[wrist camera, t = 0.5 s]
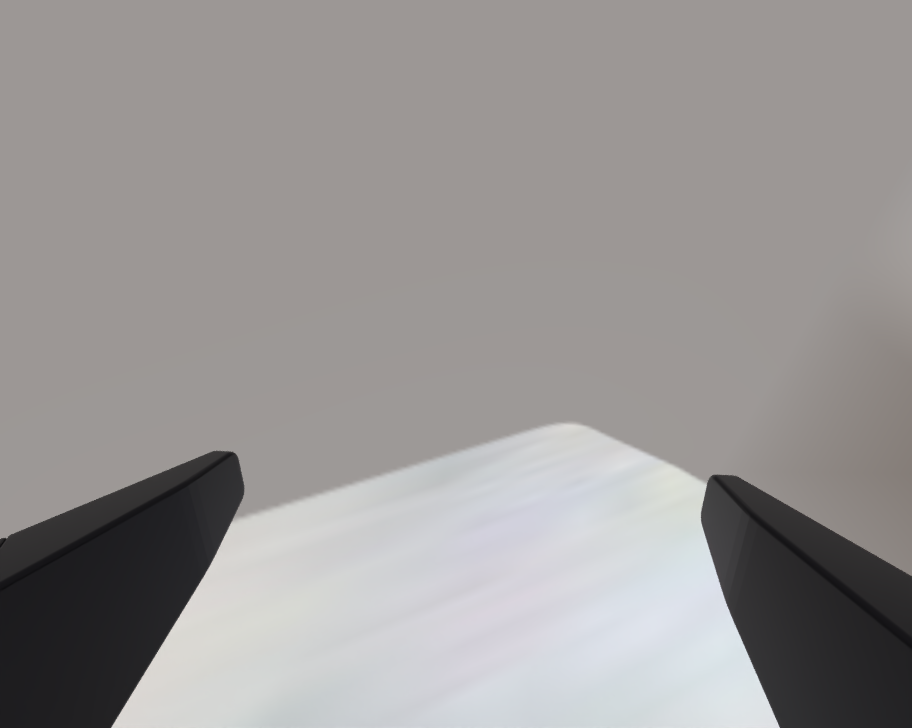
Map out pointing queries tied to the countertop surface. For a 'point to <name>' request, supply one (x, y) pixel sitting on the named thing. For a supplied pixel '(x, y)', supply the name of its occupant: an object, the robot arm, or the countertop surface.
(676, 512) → the countertop surface
